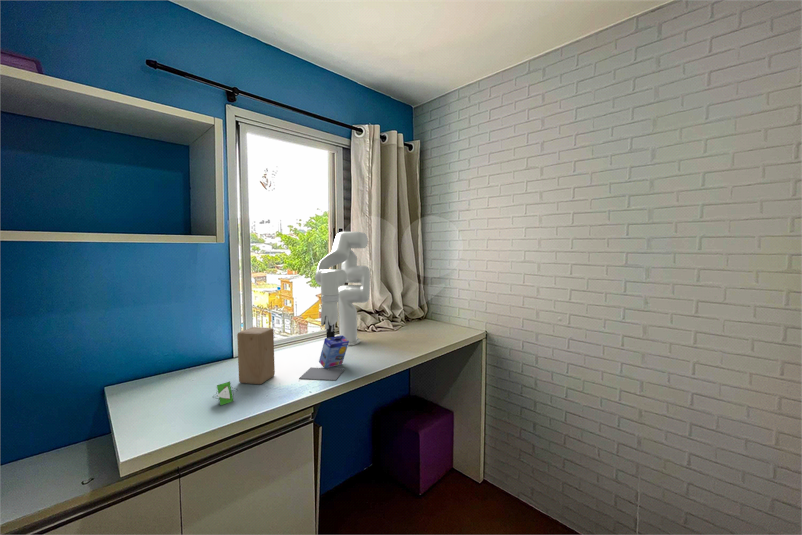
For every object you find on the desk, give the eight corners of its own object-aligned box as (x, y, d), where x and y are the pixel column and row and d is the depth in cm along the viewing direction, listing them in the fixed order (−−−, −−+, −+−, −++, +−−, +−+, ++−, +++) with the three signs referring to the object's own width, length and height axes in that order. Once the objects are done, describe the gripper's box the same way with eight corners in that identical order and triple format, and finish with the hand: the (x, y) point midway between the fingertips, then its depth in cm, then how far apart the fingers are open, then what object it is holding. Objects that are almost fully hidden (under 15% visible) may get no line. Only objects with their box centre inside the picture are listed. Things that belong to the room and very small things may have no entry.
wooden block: (261, 385, 129) (259, 333, 128) (237, 383, 131) (236, 332, 130) (275, 375, 139) (274, 327, 138) (254, 373, 141) (252, 326, 140)
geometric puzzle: (208, 395, 116) (213, 380, 112) (229, 388, 121) (234, 374, 118) (215, 412, 113) (220, 398, 109) (236, 405, 118) (242, 391, 114)
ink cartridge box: (324, 369, 144) (332, 339, 141) (317, 362, 148) (325, 333, 144) (343, 364, 152) (350, 336, 148) (336, 358, 155) (343, 329, 152)
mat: (310, 368, 147) (310, 367, 147) (344, 369, 145) (344, 368, 145) (299, 379, 135) (299, 378, 135) (335, 380, 133) (335, 379, 133)
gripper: (327, 296, 157) (328, 335, 158) (315, 301, 142) (316, 344, 143) (343, 296, 156) (343, 335, 157) (332, 301, 141) (333, 344, 142)
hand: (330, 339), depth 150 cm, fingers closed
